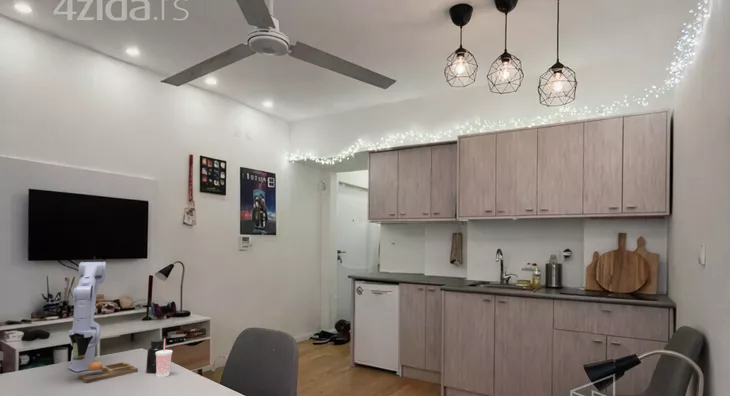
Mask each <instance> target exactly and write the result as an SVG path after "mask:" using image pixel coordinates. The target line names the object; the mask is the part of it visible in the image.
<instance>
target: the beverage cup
mask: <svg viewBox="0 0 730 396" xmlns="http://www.w3.org/2000/svg"><path fill="white" fill-rule="evenodd" d="M163 340H164V345H163V346H164V350H160V351H157V352H156V373H155V376H156V378H165V377H168V376H170V372H171V363H172V354H173V352H174V351H173V350H172V349H166V350H165V348H166V338H164V339H163Z"/></svg>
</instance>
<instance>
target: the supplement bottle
mask: <svg viewBox="0 0 730 396" xmlns="http://www.w3.org/2000/svg"><path fill="white" fill-rule="evenodd" d="M160 350H164V339H162V338H161V339H160V338H158V339H152V340H151V341H150V347H149V348H148V349H147V354H146V365H145V366H146V367H145V368H146V369H145V371H146V373H148V374H156V352H157V351H160ZM165 350H167V347H165Z"/></svg>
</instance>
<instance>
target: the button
mask: <svg viewBox="0 0 730 396" xmlns="http://www.w3.org/2000/svg"><path fill="white" fill-rule="evenodd" d="M102 366H103V361H100V360H98V361H97V360H96V361H95V360H94V362H90V363H89V364H88V370H87V371H89V372H95V371H99V370H101V369H102Z"/></svg>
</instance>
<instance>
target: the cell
mask: <svg viewBox="0 0 730 396" xmlns="http://www.w3.org/2000/svg"><path fill="white" fill-rule="evenodd" d="M72 350H73V360H82V359H85V355H81V356H78V349H77V343H76V342H75V343H74V344H73V346H72Z"/></svg>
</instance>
